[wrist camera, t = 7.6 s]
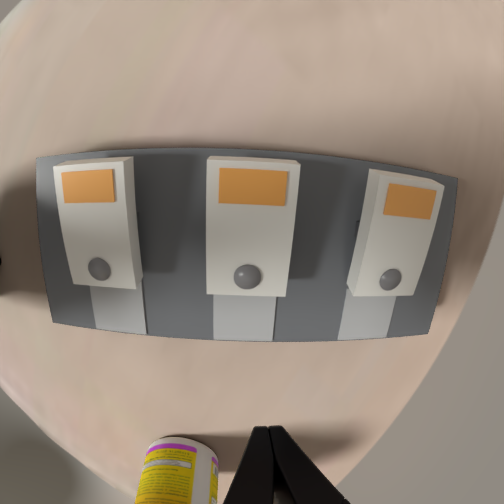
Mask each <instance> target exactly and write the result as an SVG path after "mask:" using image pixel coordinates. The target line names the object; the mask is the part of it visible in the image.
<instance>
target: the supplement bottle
mask: <svg viewBox="0 0 504 504" xmlns="http://www.w3.org/2000/svg"><path fill="white" fill-rule="evenodd" d="M217 490H218V459H217V456H216V455H215V453H214V452H213V451H212V450H211V449H210V448H208V447H207V446H205V445H204V444H202V443H199V442H197V441H194V440H191V439H187V438H181V437H166V438H161V439H158V440H156V441H155V442H153V443H152V444H151V445H150V446H149V448H148V451H147V455H146V459H145V463H144V467H143V471H142V475H141V479H140V483H139V487H138V491H137V496H136V500H135V504H217Z"/></svg>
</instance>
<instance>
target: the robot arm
mask: <svg viewBox="0 0 504 504" xmlns="http://www.w3.org/2000/svg"><path fill="white" fill-rule="evenodd" d="M0 265H1V259H0ZM223 504H350V503H349V501H348V500H346V499H344V496H343V495H342V494H341V493H340V492H339V491H338V490H337V489H336V488H335V487H334V486H333V485H332V483H331V482H330V481H329V480H328V479H327V478H326V477H325V476H324V475H323V473H322V472H321V471H320V470H319V469H318V468H317V467H316V466H315V464H314V463H313V462H312V461H311V460H310V459H309V457H308V456H307V455H306V454H305V453H304V452H303V450H302V449H301V448H300V447H299V446H298V445H297V443H296V442H295V441H294V440H293V439H292V437H291V436H290V435H289V434H288V432H287V431H286V430H285V429H284V428H283V427H282V426H280V425H277V426H269V427H267V426H255V427H254V428H253V431H252V433H251V436H250V439H249V441H248V444H247V446H246V449H245V451H244V454H243V456H242V459H241V461H240V464H239V466H238V469H237V471H236V474H235V476H234V479H233V481H232V483H231V486H230V488H229V491H228V493H227V495H226V498H225V500H224V502H223Z"/></svg>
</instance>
